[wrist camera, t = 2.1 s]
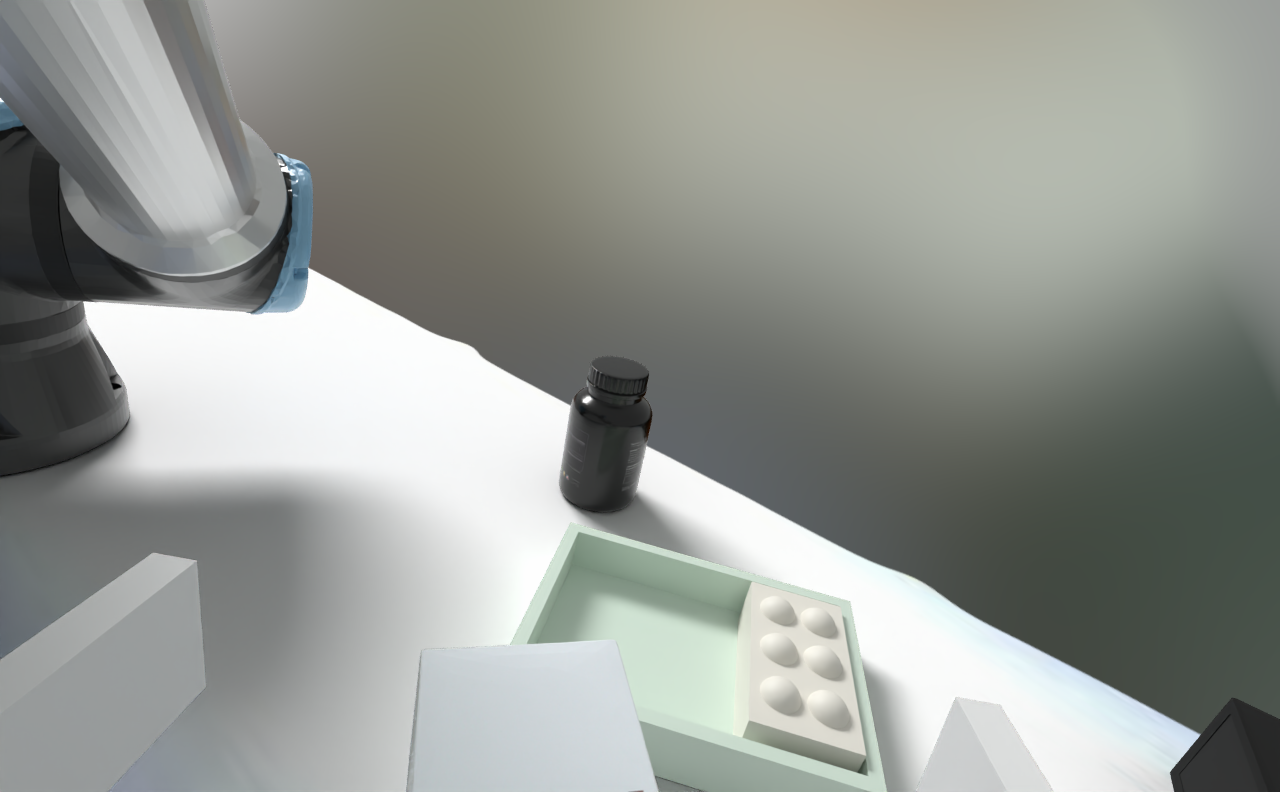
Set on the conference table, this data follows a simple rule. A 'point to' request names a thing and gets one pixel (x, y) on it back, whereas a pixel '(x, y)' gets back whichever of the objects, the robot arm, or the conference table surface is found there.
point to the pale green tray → (684, 659)
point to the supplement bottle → (607, 436)
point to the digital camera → (1233, 754)
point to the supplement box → (527, 721)
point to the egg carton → (796, 678)
